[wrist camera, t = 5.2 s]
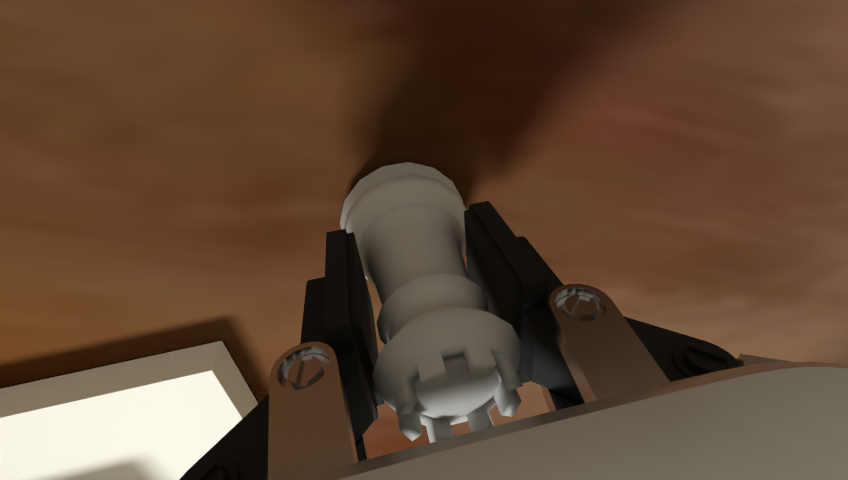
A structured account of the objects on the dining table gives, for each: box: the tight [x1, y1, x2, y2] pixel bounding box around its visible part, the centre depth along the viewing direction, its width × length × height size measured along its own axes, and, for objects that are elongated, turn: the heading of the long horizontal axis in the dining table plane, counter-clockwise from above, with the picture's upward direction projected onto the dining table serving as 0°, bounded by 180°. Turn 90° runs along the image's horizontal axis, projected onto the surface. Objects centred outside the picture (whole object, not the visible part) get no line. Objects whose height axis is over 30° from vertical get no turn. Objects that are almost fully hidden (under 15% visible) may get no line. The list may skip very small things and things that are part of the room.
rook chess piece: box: [340, 162, 523, 443], centre depth 11 cm, size 4×4×8 cm
